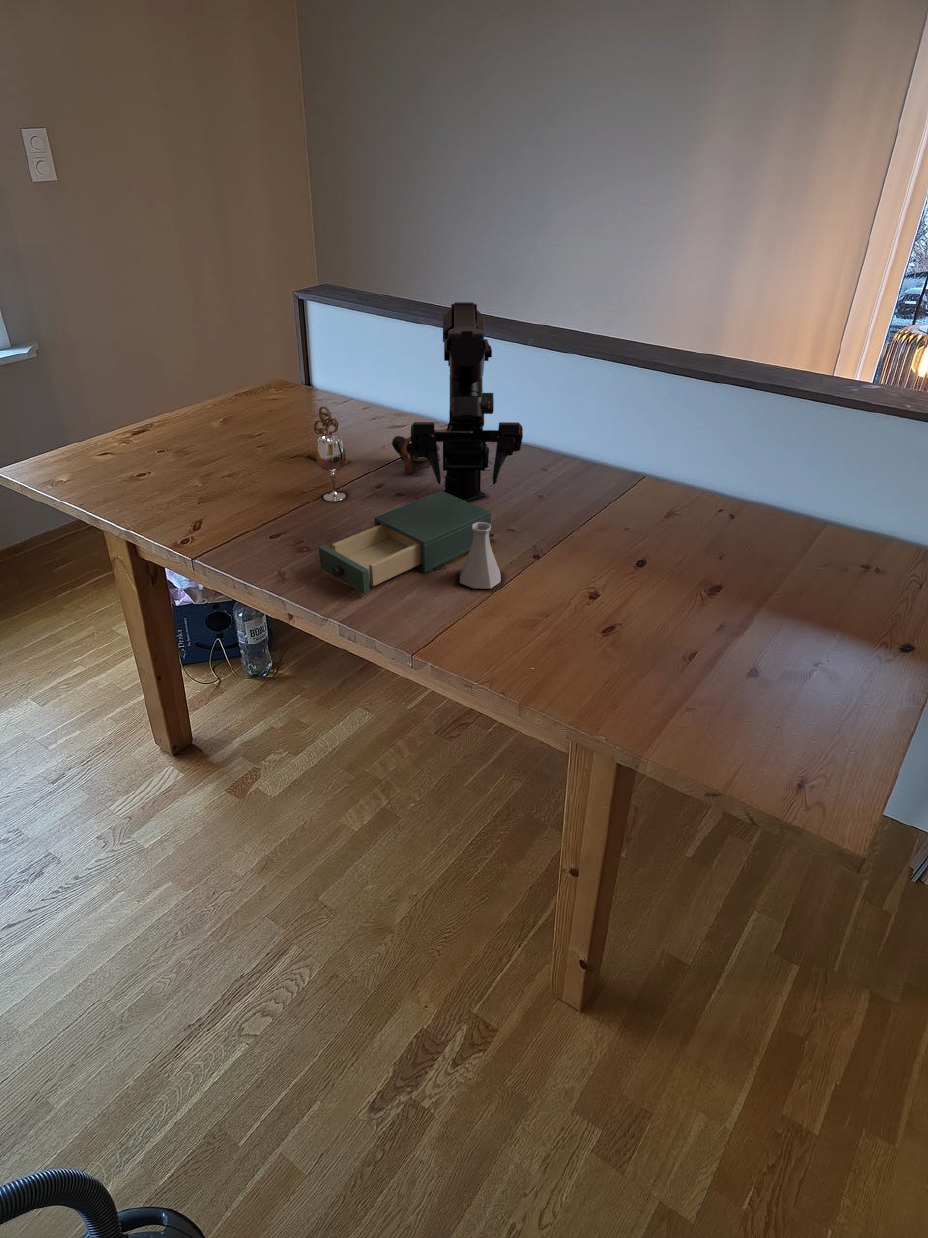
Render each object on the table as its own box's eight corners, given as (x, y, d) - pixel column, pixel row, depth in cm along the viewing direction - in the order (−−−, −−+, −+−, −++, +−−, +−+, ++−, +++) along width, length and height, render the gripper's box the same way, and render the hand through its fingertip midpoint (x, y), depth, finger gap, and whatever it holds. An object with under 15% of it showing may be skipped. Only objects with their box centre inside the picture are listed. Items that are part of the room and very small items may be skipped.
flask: (506, 572, 137) (509, 520, 131) (494, 593, 131) (496, 539, 126) (466, 565, 139) (467, 513, 133) (452, 585, 133) (452, 532, 128)
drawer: (358, 597, 128) (356, 574, 126) (314, 571, 135) (312, 549, 133) (433, 561, 138) (433, 540, 136) (389, 538, 145) (388, 518, 143)
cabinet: (424, 572, 137) (424, 542, 133) (375, 546, 144) (374, 517, 141) (490, 541, 146) (491, 511, 143) (441, 518, 154) (441, 490, 151)
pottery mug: (448, 463, 178) (448, 439, 170) (427, 494, 174) (426, 471, 167) (402, 441, 180) (400, 417, 173) (380, 471, 177) (377, 447, 169)
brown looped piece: (309, 456, 179) (304, 404, 173) (323, 452, 182) (318, 399, 175) (334, 467, 174) (330, 413, 168) (348, 462, 176) (344, 409, 170)
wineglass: (343, 504, 159) (338, 446, 152) (316, 501, 160) (310, 443, 153) (352, 492, 164) (348, 435, 157) (325, 489, 165) (320, 433, 158)
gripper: (409, 373, 130) (408, 461, 126) (524, 373, 130) (527, 462, 126) (412, 408, 141) (411, 490, 137) (518, 408, 141) (520, 490, 137)
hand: (466, 483), depth 134 cm, fingers open, 9 cm apart
